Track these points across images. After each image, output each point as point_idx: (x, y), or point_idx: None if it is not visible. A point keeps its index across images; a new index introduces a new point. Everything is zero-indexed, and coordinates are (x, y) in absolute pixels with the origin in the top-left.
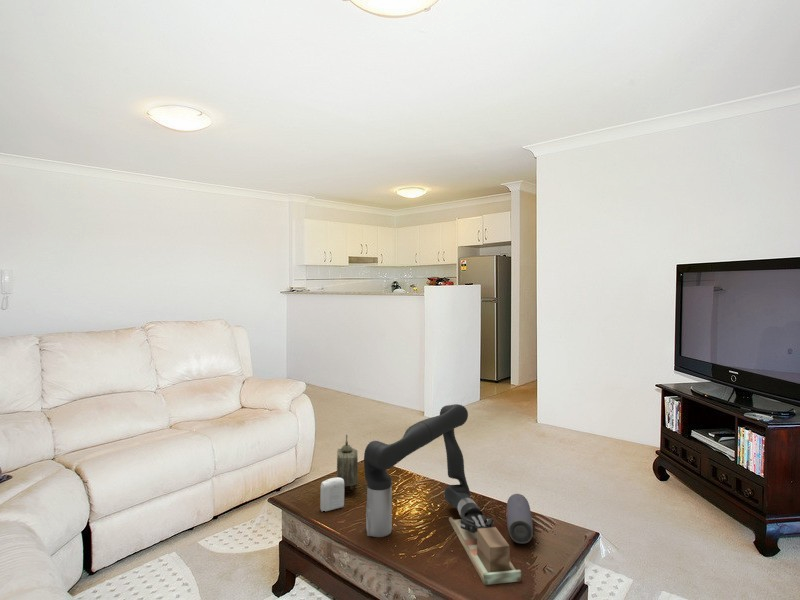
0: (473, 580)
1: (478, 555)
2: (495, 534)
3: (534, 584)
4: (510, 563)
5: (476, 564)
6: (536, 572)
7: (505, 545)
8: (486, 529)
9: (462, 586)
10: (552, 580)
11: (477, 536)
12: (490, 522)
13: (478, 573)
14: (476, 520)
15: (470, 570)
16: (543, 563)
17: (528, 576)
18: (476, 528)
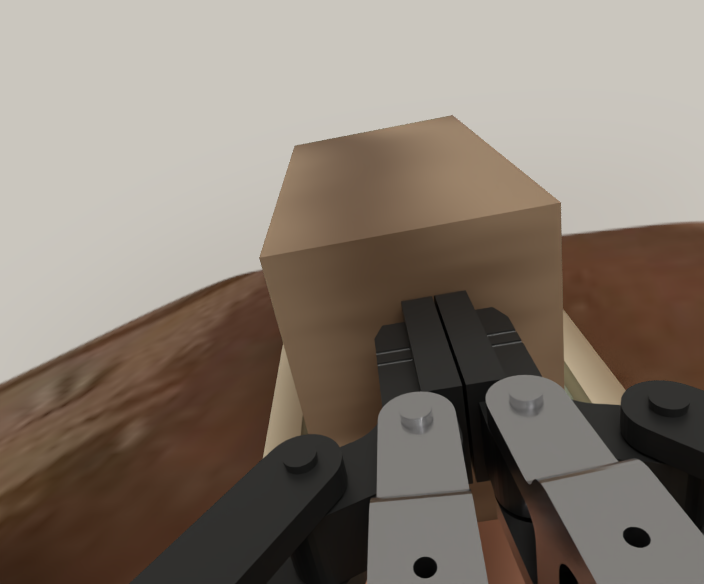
0: (586, 283)
1: None
2: (340, 185)
3: (243, 300)
4: (286, 364)
5: (569, 334)
6: (159, 363)
7: (324, 141)
8: (418, 211)
9: (651, 249)
10: (132, 326)
11: (559, 305)
12: (192, 535)
13: None
14: (601, 530)
15: (619, 340)
16: (29, 435)
17: (232, 335)
18: (584, 411)
